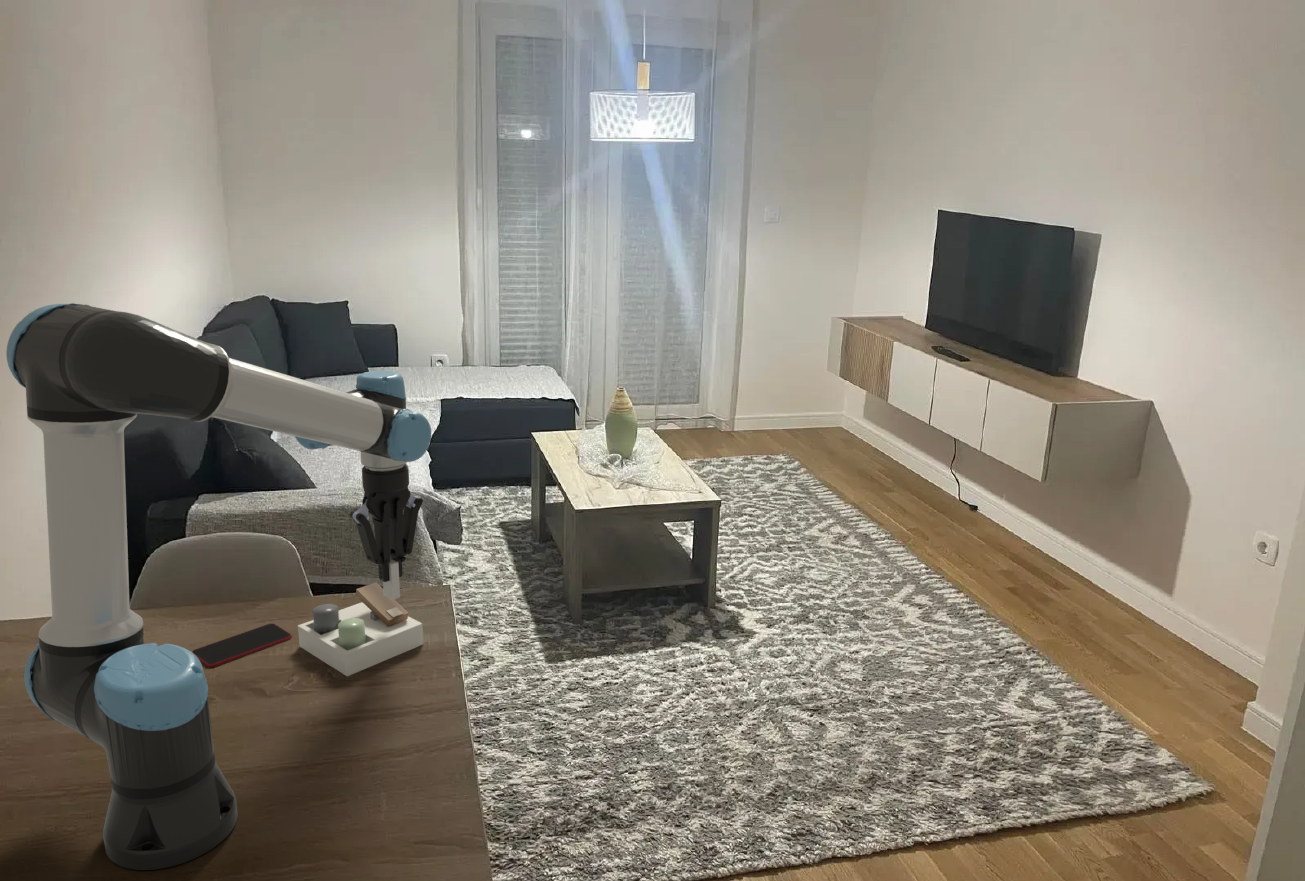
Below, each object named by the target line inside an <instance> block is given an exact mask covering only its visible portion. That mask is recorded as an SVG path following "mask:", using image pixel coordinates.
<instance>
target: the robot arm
mask: <svg viewBox="0 0 1305 881" xmlns="http://www.w3.org/2000/svg"><path fill="white" fill-rule="evenodd" d="M5 355H6V361H7V362H6V363H7V366H8V368H9V371H10V372H11V375H12V376H13V377H14V379H15V380H16V381H17V382H18V384H19V385H20V386H21V387H22V388H23V387H24V389H25V394H26V395H25V399H26V416H27V420H29V421H30V422H31V423H33V424H34V425H35V426H36V427H38V428H39V429H40V430H41V431H42V433H43V435H42V436H43V455H44V456H43V457H44V472H45V473H44V474H45V493H46V494H45V495H46V496H45V498H46V514H47V515H46V516H47V518H46V519H47V535H48V556H49V557H48V558H49V576H50V579H49V580H50V597H51V598H50V599H51V618H50V619H49V620H47V621H46V622H45V623H44V624H43V625H42V626H41V627H40V629H39V631H38V642H37V644H36V648H35V650H33V651H32V652H30V654H29V657H28V659H27V661H26V664H25V668H24V672H23V673H24V674H23V677H24V686H25V690H26V692H27V693H26V694H27V695H28V696H29V698H30V700H31V702H33V704H34V705H35V706H36V707H37V708H39V710H40V711H41V712H42V713H43V714H44V715H45V716H46V717H48V718H49V719H51V720H54V721H56V722H57V723H59V724H61V725H64V726H66V727H67V728H69V729H71V730H73V731H75V732H76V733H78V734H80V735H82V736H83V737H85V738H87V739H89V740H91V741H92V742H94V743H96V744H97V745H98V746H101V747H102V748H103V749H104V752H105V754H106V758H107V766H108V770H109V771H108V772H109V777H110V782H111V784H110V785H111V794H110V798H109V803H108V805H107V812H106V815H105V820H104V825H103V828H102V836H103V845H104V850H105V854H106V856H107V857H108V859H109V860H110V861H111V862H112V863H114V864H116V865H117V866H120V867H122V868H125V869H129V870H137V871H150V870H160V869H162V870H163V869H165V868H171V867H175V866H178V865H179V866H180V865H182V864H185V863H187V862H189V861H193V860H194V859H196V858H198V857H201V856H202V855H204V854H207V853H208V852H209V851H211V850H213V849H214V848H215V847H217V846H218V845H219V844H221V843H222V842H223V841H224V840H225V839H226V838H227V837H228V836H229V835H230V834H231V833H232V831H233V830H234V828H235V826H236V824H237V820H238V817H239V816H238V815H239V814H238V806H237V805H238V804H237V799H236V795H235V792H234V791H233V788H232V787H231V785H230V783H229V782H228V780H227V779H226V777H225V775H224V774H223V772H222V770H221V769H220V767H219V764H218V763H217V761H216V760H217V759H216V754H215V745H214V737H213V729H212V722H211V721H212V720H211V713H210V706H209V705H210V704H209V697H208V694H209V686H208V681H207V678H206V676H205V672H204V668H203V663H202V662H201V661H199V659H198V658H197V657H196V655H194V654H193V653H192V651H191V650H189V649H187V648H185V647H183V646H181V645H176V644H172V643H163V644H161V645H158V644H157V643H156V642H153V643H152V642H151V643H145V637H144V636H145V635H144V634H145V632H144V621H143V620H144V619H143V617H141V616H140V615H139V614H138V613H136V612H134V611H133V609H131V608H130V587H129V586H130V583H129V582H130V581H129V559H128V558H129V554H128V553H129V552H128V528H127V526H128V523H127V522H128V521H127V517H128V516H127V493H126V492H127V490H126V488H127V487H126V463H125V462H126V461H125V460H126V458H125V432H124V431H125V428H126V427H127V426H128V425H129V424H130V423H131V422H133V421H134V420H135V419H136V418H137V416H138V415H139V414H140V415H152V416H160V417H167V418H169V417H170V418H176V419H182V420H186V421H190V422H196V423H201V422H204V421H207V420H208V419H210V418H211V417H212V418H215V419H219V420H222V421H223V420H224V421H227V422H233V423H236V424H241V425H245V426H250V427H253V428H259V429H262V430H263V429H264V430H267V431H271V432H276V433H281V434H285V435H289V436H294V438H295V439H296V441H297V442H298V444H300V445H301V446H302V447H303V448H305V449H307V450H317V449H326V448H327V447H332V446H333V447H334V446H337V447H340V448H344V449H349V450H353V451H356V452H359V453H360V463H361V465H362V468H361V480H362V482H361V483H362V484H361V485H362V488H363V492H364V495H363V499H362V501H361V502H362V505H361V506H360V507H359V508H358V509H357V510H352V511H350V513H349V516H350V518H351V519H352V520H353V521H354V523H355V525H356V528H357V531H358V533H359V538H360V542H361V544H362V547H363V551H364V553H365V554H364V555H365V556H366V560H367V561H370V562H371V563H373V564H376V565H378V566H377V567H378V569H377V570H378V579H379V580H380V581H381V582H382V588H383V592H384V596H386V597H388V598H390V599H392V600H397V599H399V598H401V591H400V590H401V588H400V587H401V586H400V578H401V577H402V576H403V572H404V571H403V562H405V561H406V560H407V558H406V555H410V554H412V552H413V546H414V539H415V535H416V529H417V523H418V517H419V516H418V515H419V511H420V510H421V507H422V505H423V503H424V499H422V498H421V497H418V496H415V495H413V494H411V491H410V489H409V485H410V472H409V471H410V468H409V466H408V464H407V463H410V462H416V461H417V460H420V459H421V458H422V457H423V456H424V455H426V453H427V451H428V449H429V447H430V443H431V439H432V428H431V424H430V422H429V420H428V418H427V417H426V416H425V415H423V413H420V412H416V411H413V410H411V409H408V408H407V396H406V389H405V381H404V378H403V376H402V375H401V374H400V373H398V372H396V371H391V370H390V371H389V370H371V371H366V372H362V373H360V374H358V375H357V376H356V385H355V389H353V390H350V391H342V390H338V389H335V388H331V387H328V386H324V385H323V384H318V383H315V382H311V381H308V380H306V379H305V380H304V379H301V378H300V377H295V376H292V375H288V374H285V373H283V372H282V373H281V372H277V371H275V370H271V369H268V368H265V367H260V366H259V365H254V364H251V363H247V362H244V361H240V360H238V359H236V358H231V357H229V356H228V354H227V352H226V351H225V350H224V348H222V347H221V346H219V345H216V344H213V343H210V342H207V341H204V340H201V339H198V338H196V337H194V336H191V335H189V334H186V333H183V332H180V331H178V330H175V329H174V328H171V327H169V326H166V325H164V324H162V323H159V322H157V321H155V320H153V319H150V318H147V317H144V316H141V315H139V314H134V313H131V312H127V311H119V310H117V311H116V310H111V309H107V308H101V307H96V306H91V305H89V304H81V303H74V302H73V303H53V304H48V305H44V306H42V307H38V308H36V309H34V310H33V311H30V312H29V313H28V314H26V316H24V317H23V318H22V319H21V320H20V321H19V322H18V323H17V324H16V325H15V327H14V328H13V330H12V331H11V334H10V336H9V338H8V341H7V345H6V354H5ZM369 514H370V515H371V517H372V520H371V521H372V523H373V525H374V531H373V527H372V526H371V525H372V524H371V523H370V521H369V520H370V516H369Z"/></svg>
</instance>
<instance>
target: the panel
mask: <svg viewBox="0 0 1305 881" xmlns="http://www.w3.org/2000/svg"><path fill="white" fill-rule="evenodd" d="M338 610H339V622H341V621H343V620H345V619H349V618H359V619H362V620H363V621H364V626H365V638H366V643H365V644H363V645H360V646H358V647H355V648H353V649H350V650H348V651H347V650H345V649H344V648H342V647H340V644H339V632H338V629H336V630H333V631H331V632H328V633H325V634H323V635H320V634H319V633H317V632H315V631H314V621H313V619H312V620H309V621H307V622H303V623H300V624H298V625H297V631H298V632H297V633H298V644H299V647H300V648H301V649H303V650H304V651H306V652H307V653H310V654H311V655H312V656H314V657H315V658H316V659H319V660H321V661H322V662H324V663H325V664H327V665H328V666H330V667H331V668H333V669H335V670H336V671H338V672H340V673H341V674H342V675H344V676H346V677H349V676H352V675H355V674H356V673H359V672H361V671H363V670H366V669H369V668H371V667H373V666H375V665H378V664H380V663H383V662H384V661H385V662H386V661H387V660H389V659H392V658H394V657H397V656H399V655H402V654H404V653H407V652H408V651H411V650H413V649H416V648H418V647H421V646H423V645H424V630H423V623H422V622H421V621H419V620H417V619H414V618H413V617H410V616H409V615H408V619H407V620H404V621H401V622H399V623H396V624H394V625H391V626H389V627H387V626H386V625H385V624H384V623H383V622H382V621H381V620H380V619H379V618H378V617H377V616H376V615H375V614H374V613H373V612H372V611H371V610H370V609H369V608H368V607H367V606H366V605H365V604H364V603H363V602H362V601H361V602H359V603H356V604H353V605H350V606H347V607H344V608H342V609H338Z"/></svg>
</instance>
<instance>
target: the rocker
mask: <svg viewBox="0 0 1305 881" xmlns="http://www.w3.org/2000/svg"><path fill="white" fill-rule="evenodd" d="M355 596H356V597H357V598H358V599H359V600H360V601H361V602H363V603H364V604H365V605H366V606H367V607H368V608H369V609H370V610H371V611H372V612H373V613H374V614H375V615H376V616H377V617H378V618H379V619H380V620H381V621H382V622H383V623H384V624H385V625H386V626H387V627H389V626H391V625H394V624H396V623H399V622H401V621H404V620H407V619H408V616H409V612H408V611H407V610H406V609H405V608H404V607H403V606H402V605H401V604H400V603H399V602H398V601H396V599H394V600H392V599H390V598H388V597H386V596H384V592H383V586H381V585H380V584H378V582H373V583H370V584H366V585H364V586H361V587H359V588H358V587H357V588H356V591H355Z"/></svg>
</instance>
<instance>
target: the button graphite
mask: <svg viewBox="0 0 1305 881" xmlns="http://www.w3.org/2000/svg"><path fill="white" fill-rule="evenodd" d="M339 610H340V609H339V606H338V605H337V604H334V603H324V604H323V603H322V604H320V605H317V606H315V607H314V608H313V609H312V618H313V619H312V620H313V621H314V631H315V632H317V633H319V634H320V635H323V634H325V633H328V632H331V631H333V630H336V629H338V624H339V623H340V622H339Z"/></svg>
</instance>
